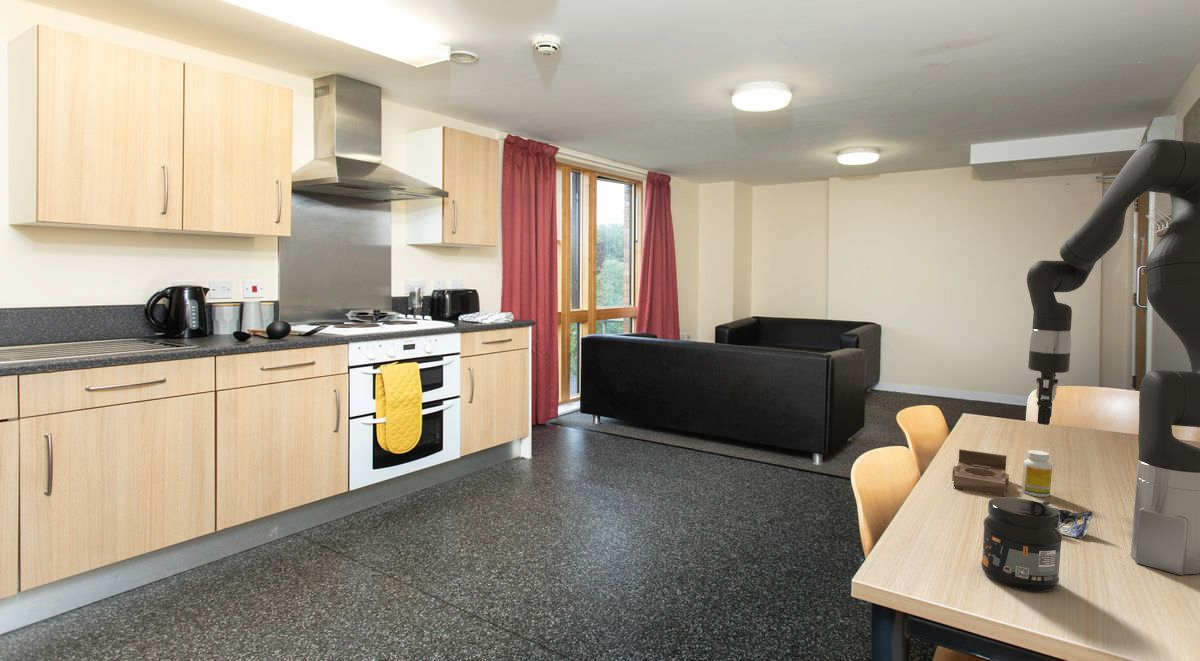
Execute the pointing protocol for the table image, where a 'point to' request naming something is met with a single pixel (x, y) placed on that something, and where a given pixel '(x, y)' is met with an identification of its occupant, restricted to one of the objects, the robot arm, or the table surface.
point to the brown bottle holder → (981, 472)
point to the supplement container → (1022, 544)
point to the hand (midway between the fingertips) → (1044, 420)
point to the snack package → (1073, 522)
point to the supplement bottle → (1037, 474)
